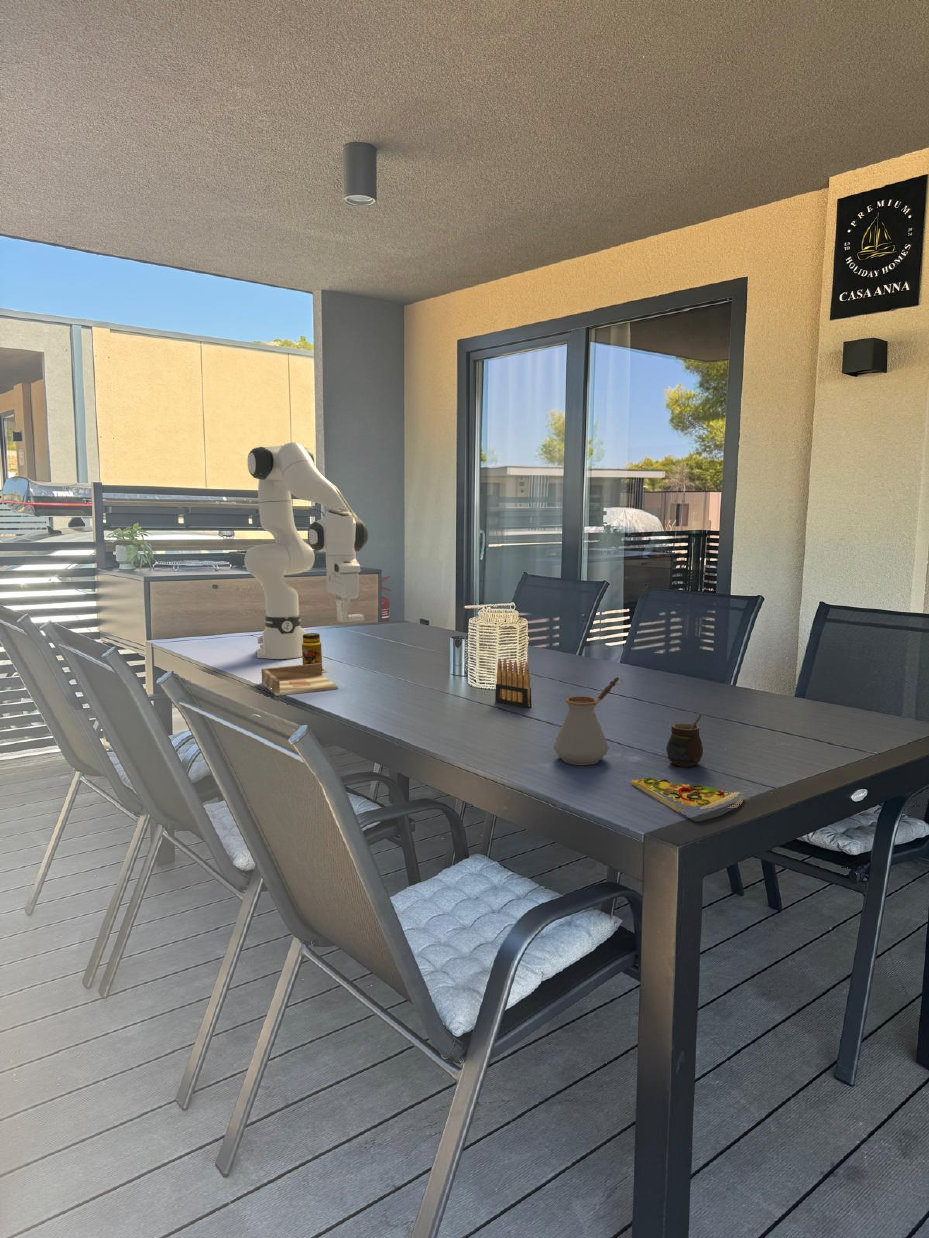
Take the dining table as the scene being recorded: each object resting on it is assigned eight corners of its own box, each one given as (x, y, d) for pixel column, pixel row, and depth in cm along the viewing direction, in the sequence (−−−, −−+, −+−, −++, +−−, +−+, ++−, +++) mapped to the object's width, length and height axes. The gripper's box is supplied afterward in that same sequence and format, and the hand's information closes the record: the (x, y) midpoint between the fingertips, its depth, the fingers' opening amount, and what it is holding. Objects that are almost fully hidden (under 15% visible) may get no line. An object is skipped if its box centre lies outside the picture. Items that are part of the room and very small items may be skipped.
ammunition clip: (494, 702, 226) (494, 658, 224) (499, 700, 227) (498, 657, 225) (527, 708, 219) (527, 663, 217) (531, 706, 220) (531, 661, 219)
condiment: (305, 674, 262) (303, 636, 261) (297, 669, 270) (295, 632, 268) (327, 672, 266) (326, 634, 264) (319, 667, 273) (317, 630, 271)
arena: (262, 682, 251) (261, 668, 251) (321, 676, 259) (320, 663, 258) (275, 695, 235) (275, 680, 235) (338, 688, 243) (337, 674, 242)
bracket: (342, 622, 250) (341, 600, 249) (337, 620, 254) (336, 598, 253) (364, 620, 253) (363, 599, 252) (359, 618, 257) (358, 597, 256)
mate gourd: (658, 762, 174) (659, 715, 173) (682, 756, 179) (684, 710, 177) (685, 771, 169) (687, 722, 167) (710, 764, 173) (712, 717, 171)
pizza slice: (704, 827, 142) (704, 810, 141) (606, 796, 157) (606, 780, 157) (751, 804, 152) (752, 788, 152) (655, 777, 167) (655, 762, 167)
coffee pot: (589, 772, 169) (590, 699, 167) (542, 760, 176) (542, 690, 174) (641, 746, 185) (642, 680, 183) (595, 737, 192) (596, 673, 190)
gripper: (320, 562, 258) (322, 607, 260) (341, 567, 239) (342, 615, 241) (340, 561, 260) (341, 605, 262) (362, 566, 242) (363, 614, 244)
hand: (342, 610), depth 252 cm, fingers closed on bracket, 4 cm apart
